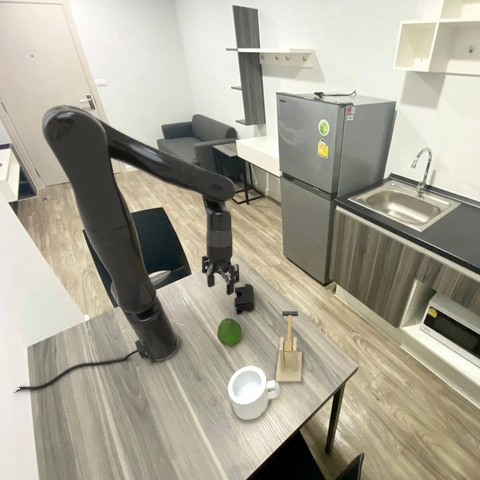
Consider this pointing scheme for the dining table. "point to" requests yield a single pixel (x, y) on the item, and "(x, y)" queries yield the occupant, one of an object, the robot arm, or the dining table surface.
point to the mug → (251, 392)
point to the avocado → (229, 332)
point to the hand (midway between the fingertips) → (220, 290)
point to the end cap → (244, 298)
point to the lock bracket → (289, 363)
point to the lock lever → (289, 329)
